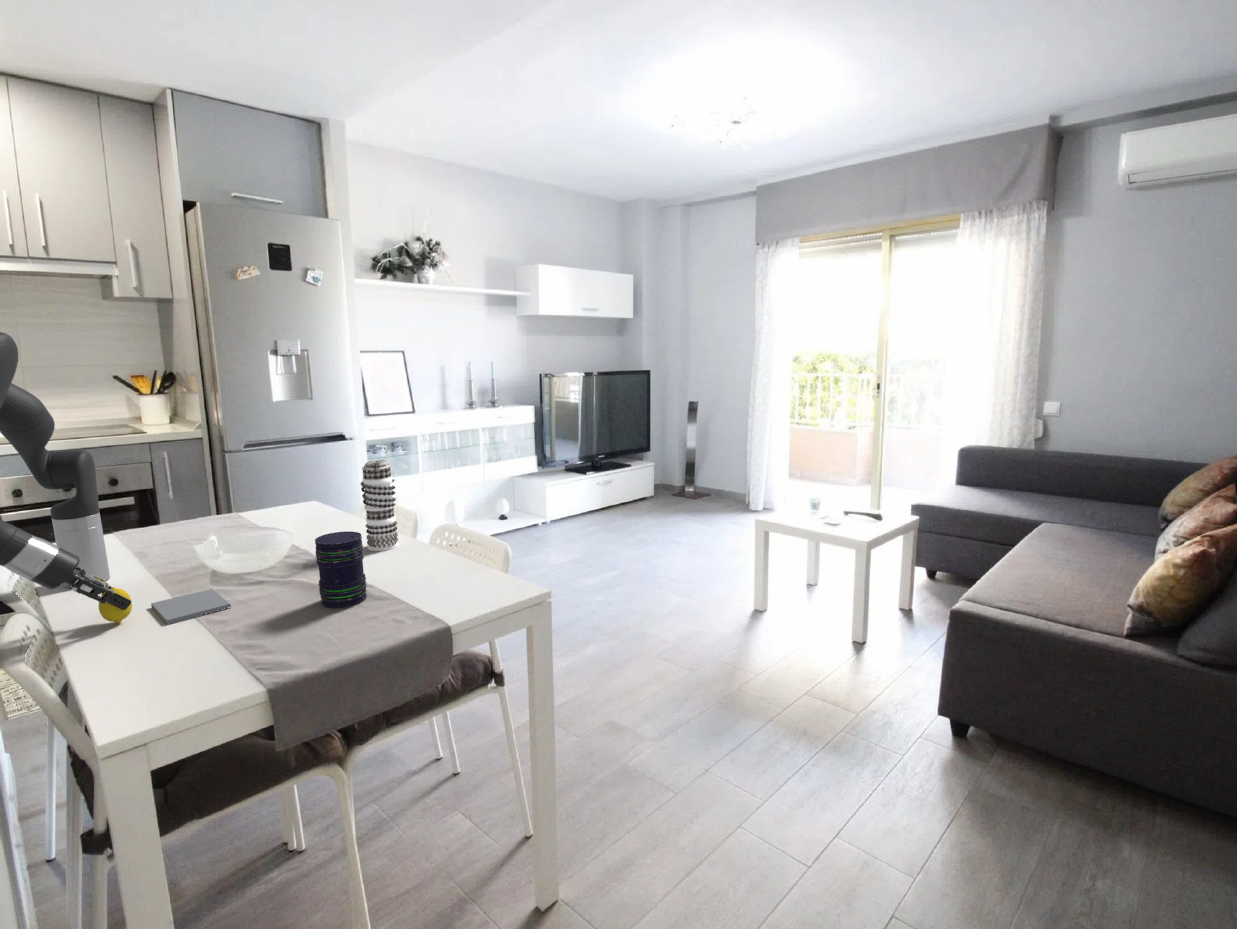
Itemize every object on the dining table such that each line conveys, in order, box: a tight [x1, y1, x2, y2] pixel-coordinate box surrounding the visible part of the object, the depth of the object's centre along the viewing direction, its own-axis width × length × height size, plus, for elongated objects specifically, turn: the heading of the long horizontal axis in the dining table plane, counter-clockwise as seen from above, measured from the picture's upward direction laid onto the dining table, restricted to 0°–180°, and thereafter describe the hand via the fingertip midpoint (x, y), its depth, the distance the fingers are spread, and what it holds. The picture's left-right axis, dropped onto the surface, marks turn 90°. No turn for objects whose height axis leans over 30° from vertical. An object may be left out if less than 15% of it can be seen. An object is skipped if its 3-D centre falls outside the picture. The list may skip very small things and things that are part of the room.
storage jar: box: [314, 530, 368, 610], centre depth 148 cm, size 10×10×15 cm
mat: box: [150, 588, 232, 626], centre depth 147 cm, size 14×12×1 cm
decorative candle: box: [359, 459, 399, 552], centre depth 188 cm, size 9×9×25 cm
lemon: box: [98, 586, 133, 625], centre depth 138 cm, size 6×6×8 cm
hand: (124, 602), depth 139 cm, fingers closed on lemon, 5 cm apart
